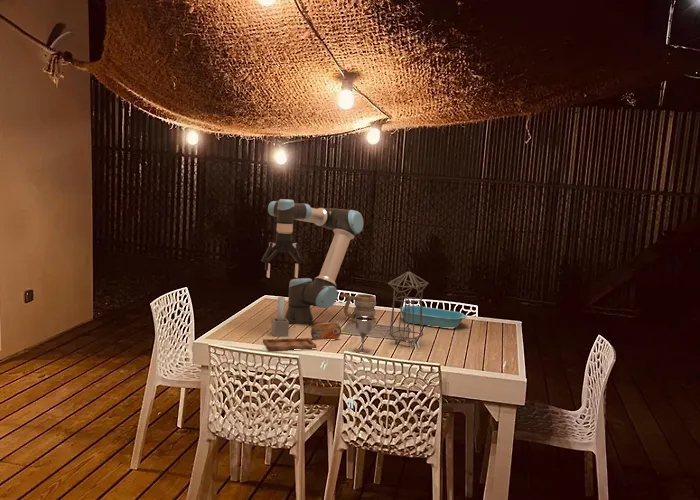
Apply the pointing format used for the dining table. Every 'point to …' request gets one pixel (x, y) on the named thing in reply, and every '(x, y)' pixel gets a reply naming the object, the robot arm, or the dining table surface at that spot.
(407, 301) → the geometric lantern
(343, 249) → the robot arm
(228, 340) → the dining table surface
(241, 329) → the dining table surface
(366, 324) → the wine glass
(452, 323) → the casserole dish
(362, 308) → the tankard
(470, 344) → the dining table surface
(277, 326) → the cup
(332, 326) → the tin
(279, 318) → the dowel
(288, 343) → the tray
